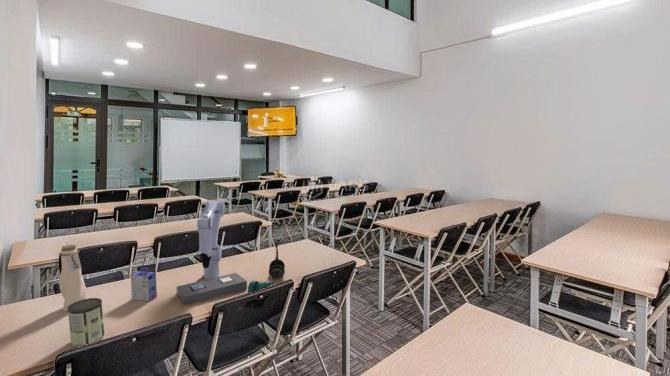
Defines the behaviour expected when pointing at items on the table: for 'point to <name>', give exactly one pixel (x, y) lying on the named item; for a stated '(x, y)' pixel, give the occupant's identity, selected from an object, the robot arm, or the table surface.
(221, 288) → the key panel
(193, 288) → the slate blue key
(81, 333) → the coffee can
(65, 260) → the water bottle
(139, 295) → the ink cartridge box
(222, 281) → the white key
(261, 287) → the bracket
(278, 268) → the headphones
